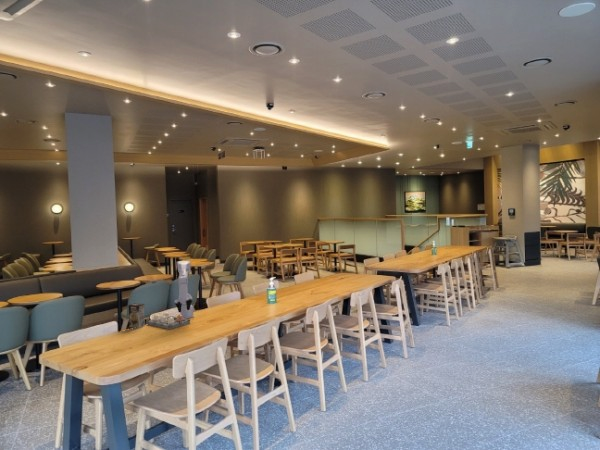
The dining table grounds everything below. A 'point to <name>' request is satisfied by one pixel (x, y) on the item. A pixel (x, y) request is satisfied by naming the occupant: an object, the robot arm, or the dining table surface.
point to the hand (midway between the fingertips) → (184, 311)
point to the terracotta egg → (179, 318)
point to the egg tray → (167, 321)
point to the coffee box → (136, 315)
